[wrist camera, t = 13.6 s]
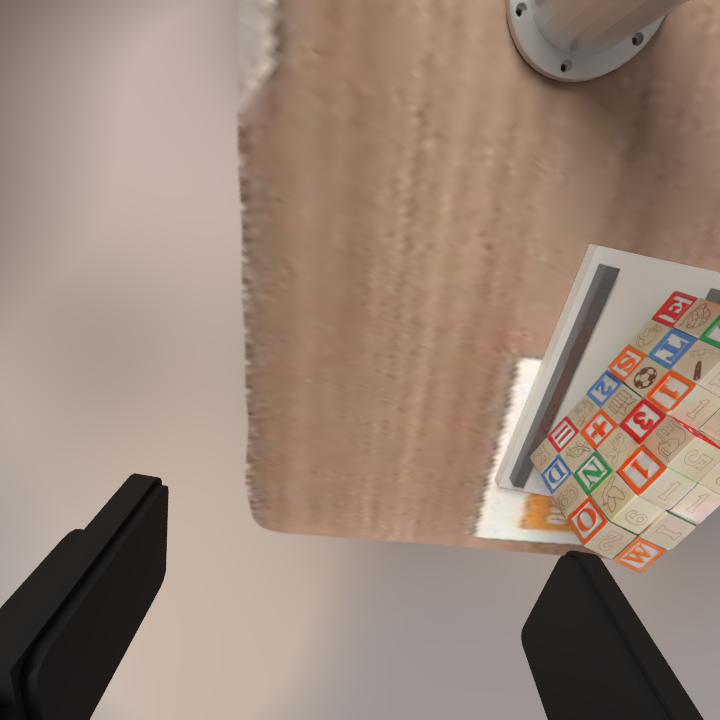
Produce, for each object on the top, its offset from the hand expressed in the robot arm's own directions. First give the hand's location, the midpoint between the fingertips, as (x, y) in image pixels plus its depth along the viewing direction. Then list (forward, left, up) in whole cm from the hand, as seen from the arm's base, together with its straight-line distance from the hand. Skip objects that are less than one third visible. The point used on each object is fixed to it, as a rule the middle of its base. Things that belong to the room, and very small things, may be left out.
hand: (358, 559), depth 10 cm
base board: (+6, +27, -33) cm, 43 cm away
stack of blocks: (+5, +27, -31) cm, 41 cm away
